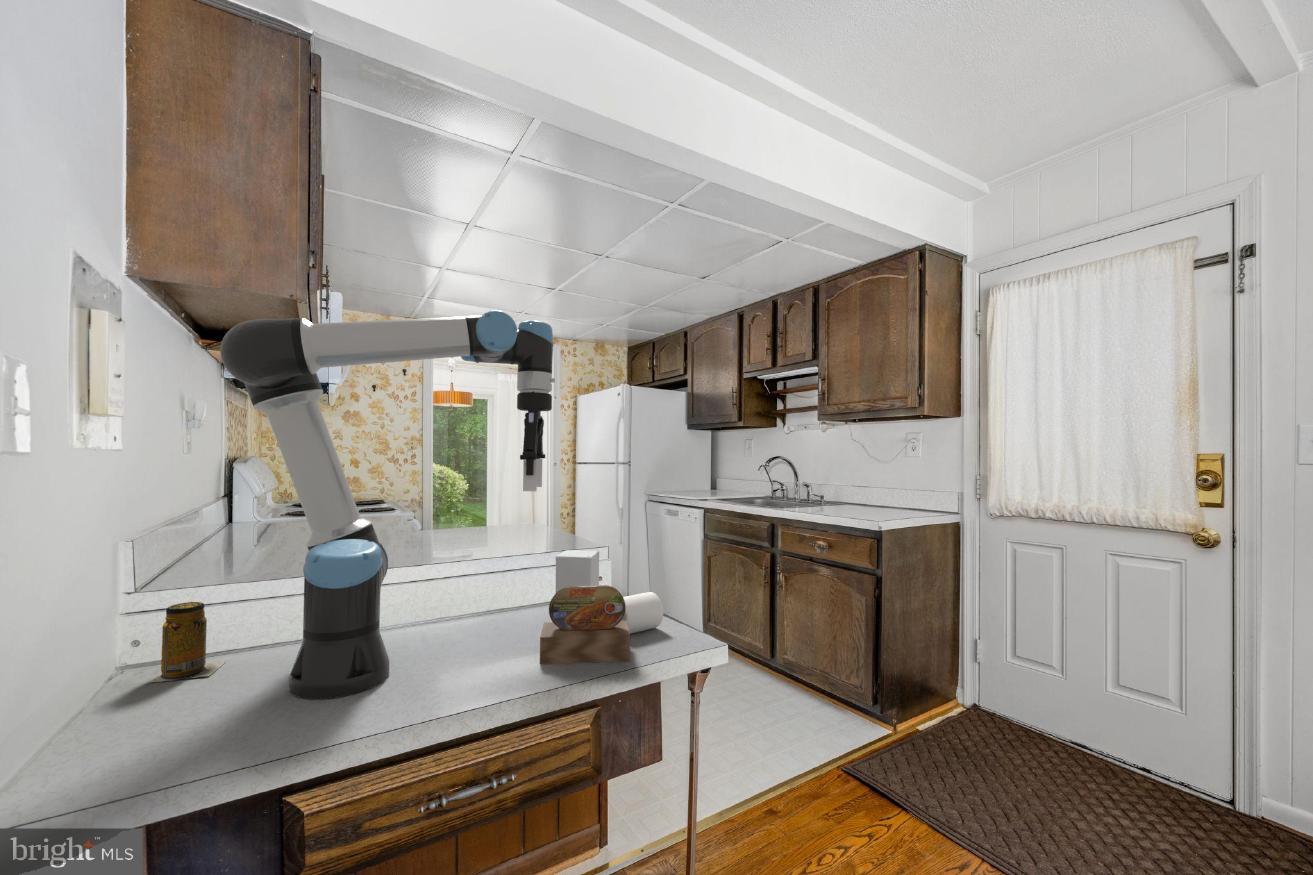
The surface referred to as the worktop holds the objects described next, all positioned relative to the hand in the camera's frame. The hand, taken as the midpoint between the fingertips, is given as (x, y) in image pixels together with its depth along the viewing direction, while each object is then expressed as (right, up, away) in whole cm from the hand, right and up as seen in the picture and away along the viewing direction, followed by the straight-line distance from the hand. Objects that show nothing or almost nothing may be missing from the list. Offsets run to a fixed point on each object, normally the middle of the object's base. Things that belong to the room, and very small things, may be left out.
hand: (532, 489), depth 123 cm
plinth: (+13, -32, -12) cm, 36 cm away
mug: (+21, -32, +4) cm, 39 cm away
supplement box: (+8, -32, +14) cm, 36 cm away
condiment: (-56, -31, -24) cm, 68 cm away
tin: (+13, -27, -12) cm, 32 cm away
